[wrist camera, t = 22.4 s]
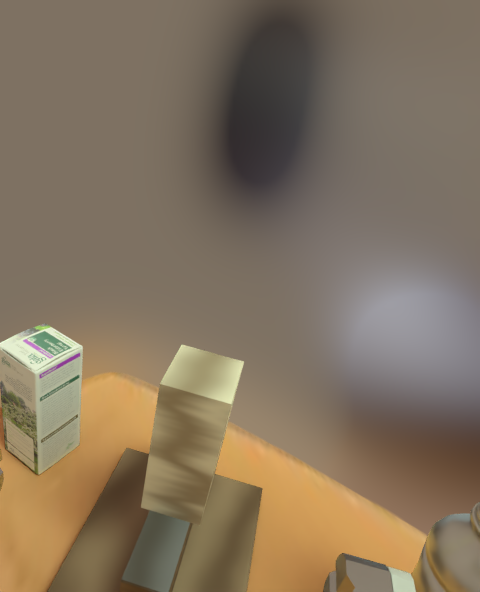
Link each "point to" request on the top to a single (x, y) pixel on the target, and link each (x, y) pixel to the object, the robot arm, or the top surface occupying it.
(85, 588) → the ridge
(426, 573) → the plastic bottle
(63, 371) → the syrup box
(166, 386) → the ash post
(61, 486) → the top surface
